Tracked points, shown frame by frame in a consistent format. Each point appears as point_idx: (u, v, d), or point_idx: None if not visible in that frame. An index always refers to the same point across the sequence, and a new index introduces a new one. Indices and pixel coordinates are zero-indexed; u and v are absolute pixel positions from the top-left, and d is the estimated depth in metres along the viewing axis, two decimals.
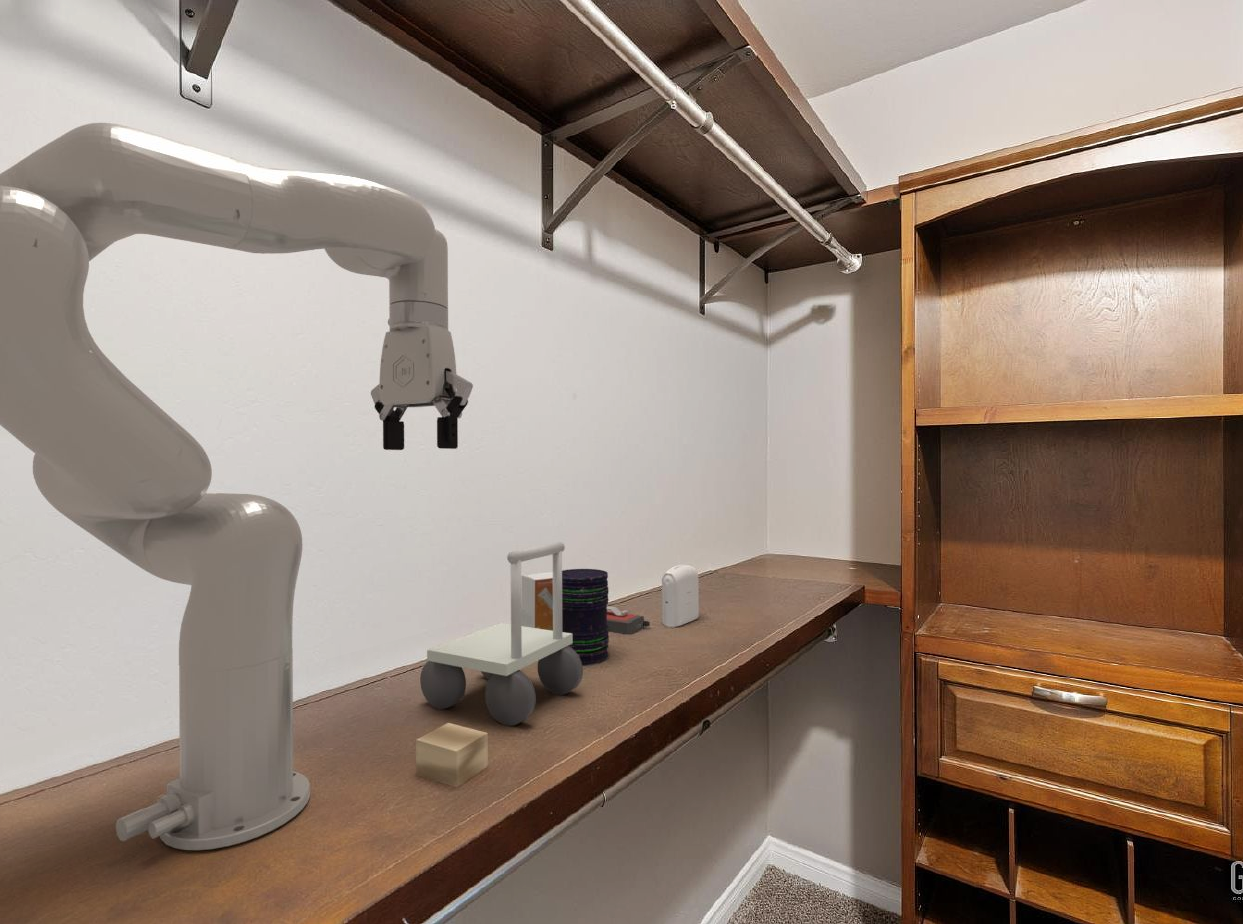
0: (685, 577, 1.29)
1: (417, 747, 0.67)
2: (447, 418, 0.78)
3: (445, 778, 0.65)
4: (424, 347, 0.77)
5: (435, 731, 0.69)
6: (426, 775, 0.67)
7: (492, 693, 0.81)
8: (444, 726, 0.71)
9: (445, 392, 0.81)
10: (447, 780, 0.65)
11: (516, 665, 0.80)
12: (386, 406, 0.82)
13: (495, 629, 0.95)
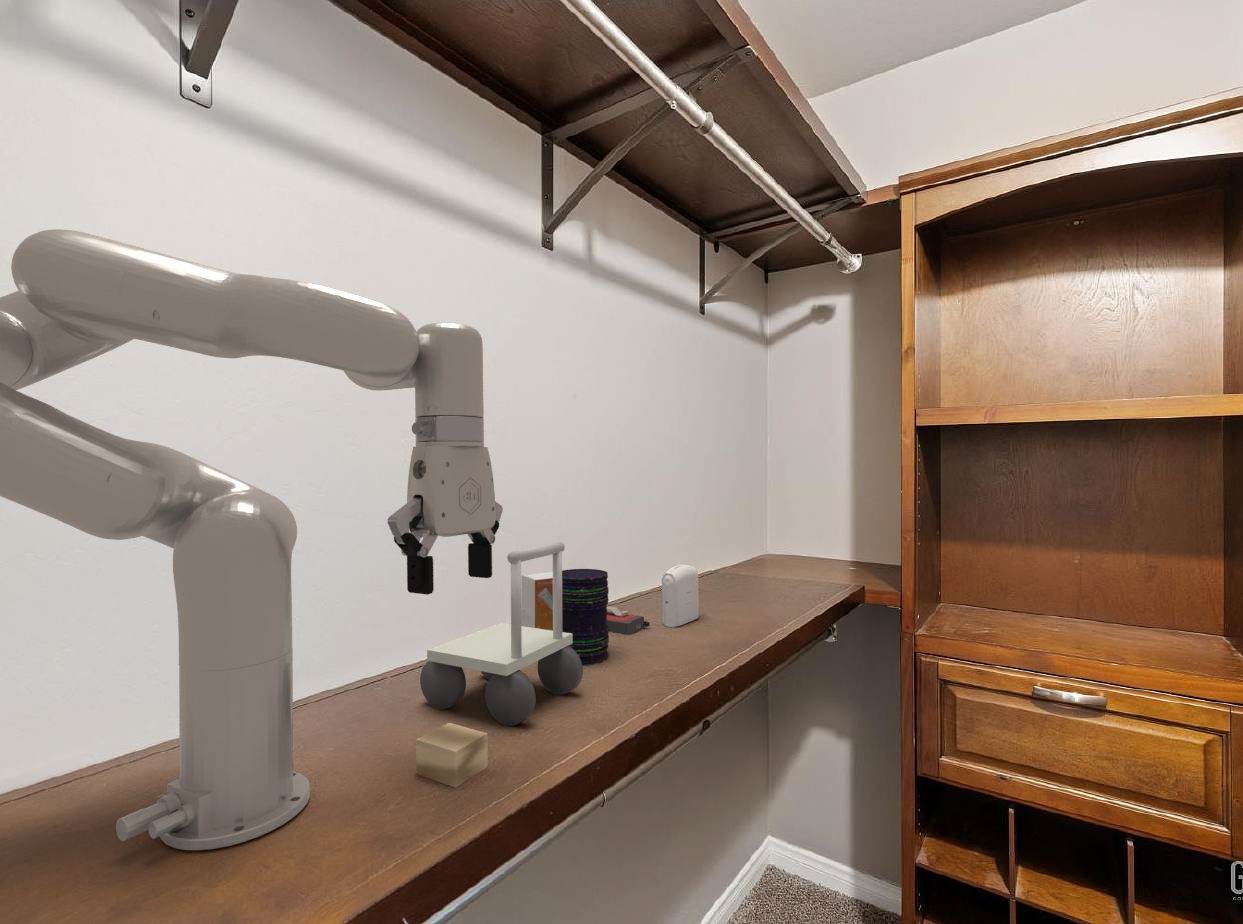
0: (685, 577, 1.29)
1: (417, 747, 0.67)
2: None
3: (444, 778, 0.65)
4: (488, 470, 0.71)
5: (435, 731, 0.70)
6: (426, 775, 0.67)
7: (492, 693, 0.81)
8: (445, 726, 0.71)
9: None
10: (447, 780, 0.65)
11: (516, 665, 0.80)
12: (429, 538, 0.64)
13: (495, 629, 0.95)
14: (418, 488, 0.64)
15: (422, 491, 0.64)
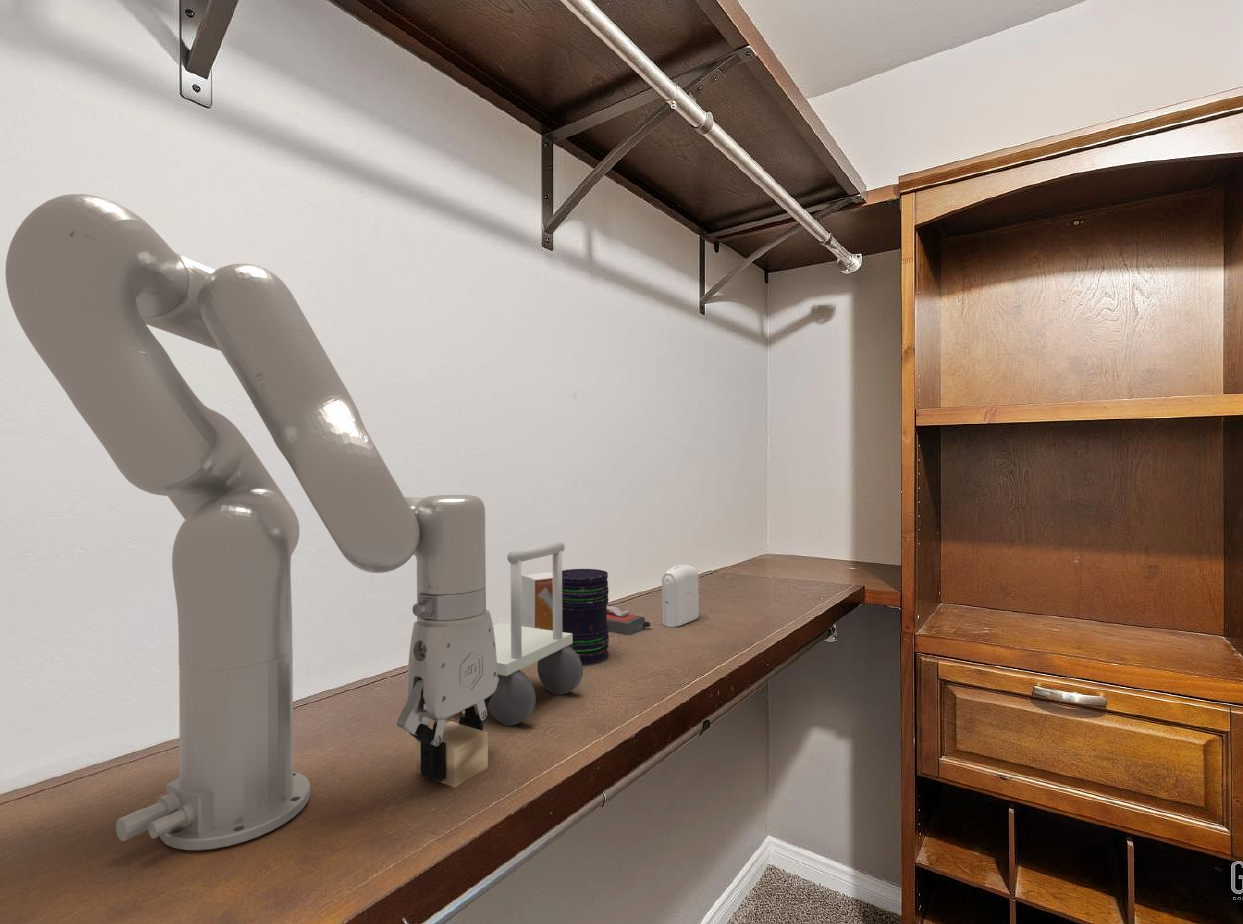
0: (685, 577, 1.29)
1: (418, 744, 0.68)
2: (480, 720, 0.71)
3: None
4: (490, 636, 0.70)
5: None
6: None
7: None
8: (446, 724, 0.71)
9: None
10: (446, 779, 0.65)
11: (516, 665, 0.80)
12: (439, 725, 0.65)
13: (495, 629, 0.95)
14: (418, 670, 0.64)
15: (422, 674, 0.64)
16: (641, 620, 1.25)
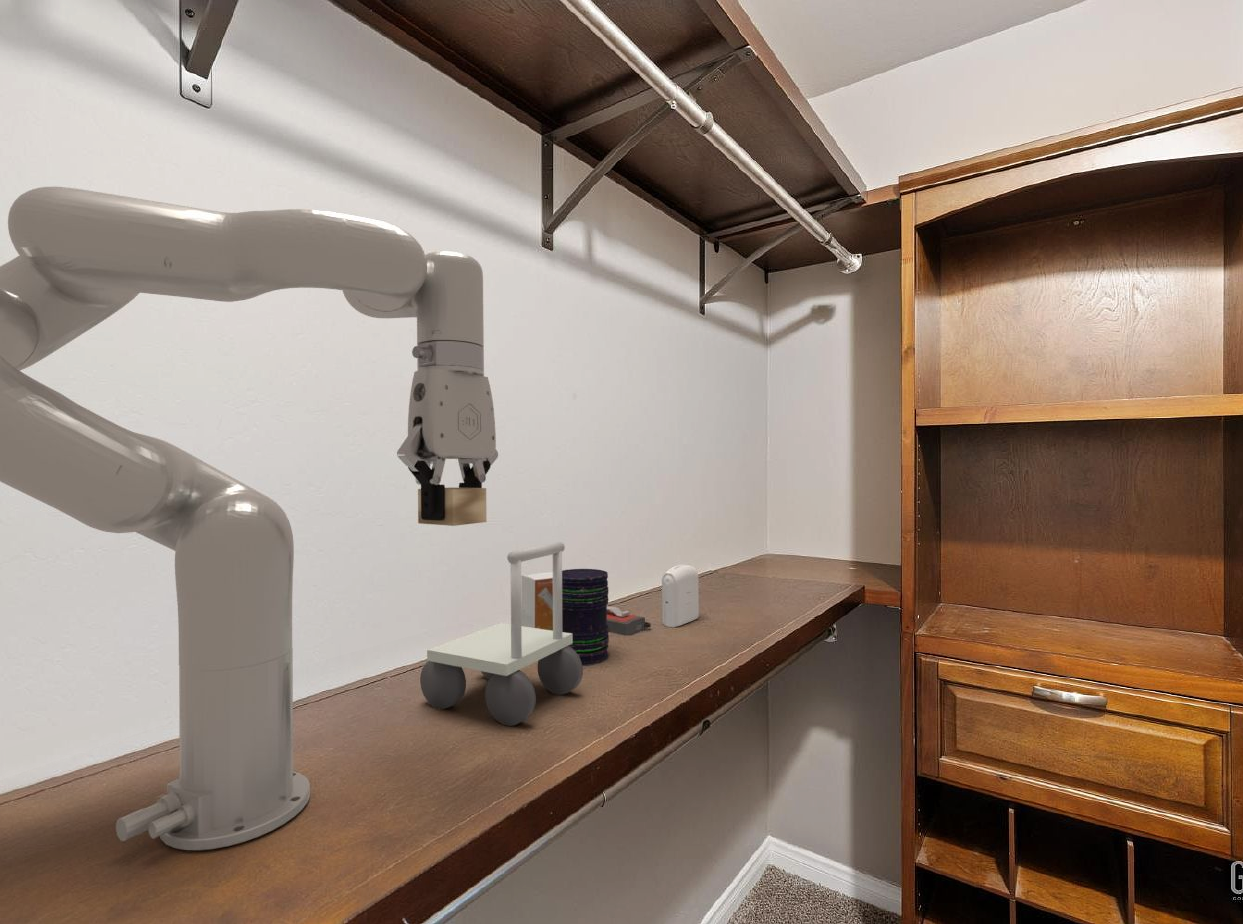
0: (685, 577, 1.29)
1: (419, 496, 0.70)
2: None
3: None
4: (488, 399, 0.73)
5: None
6: (427, 520, 0.69)
7: (492, 693, 0.81)
8: None
9: None
10: (445, 520, 0.68)
11: (516, 665, 0.80)
12: (438, 466, 0.67)
13: (495, 629, 0.95)
14: (418, 410, 0.66)
15: (422, 412, 0.66)
16: (641, 621, 1.25)
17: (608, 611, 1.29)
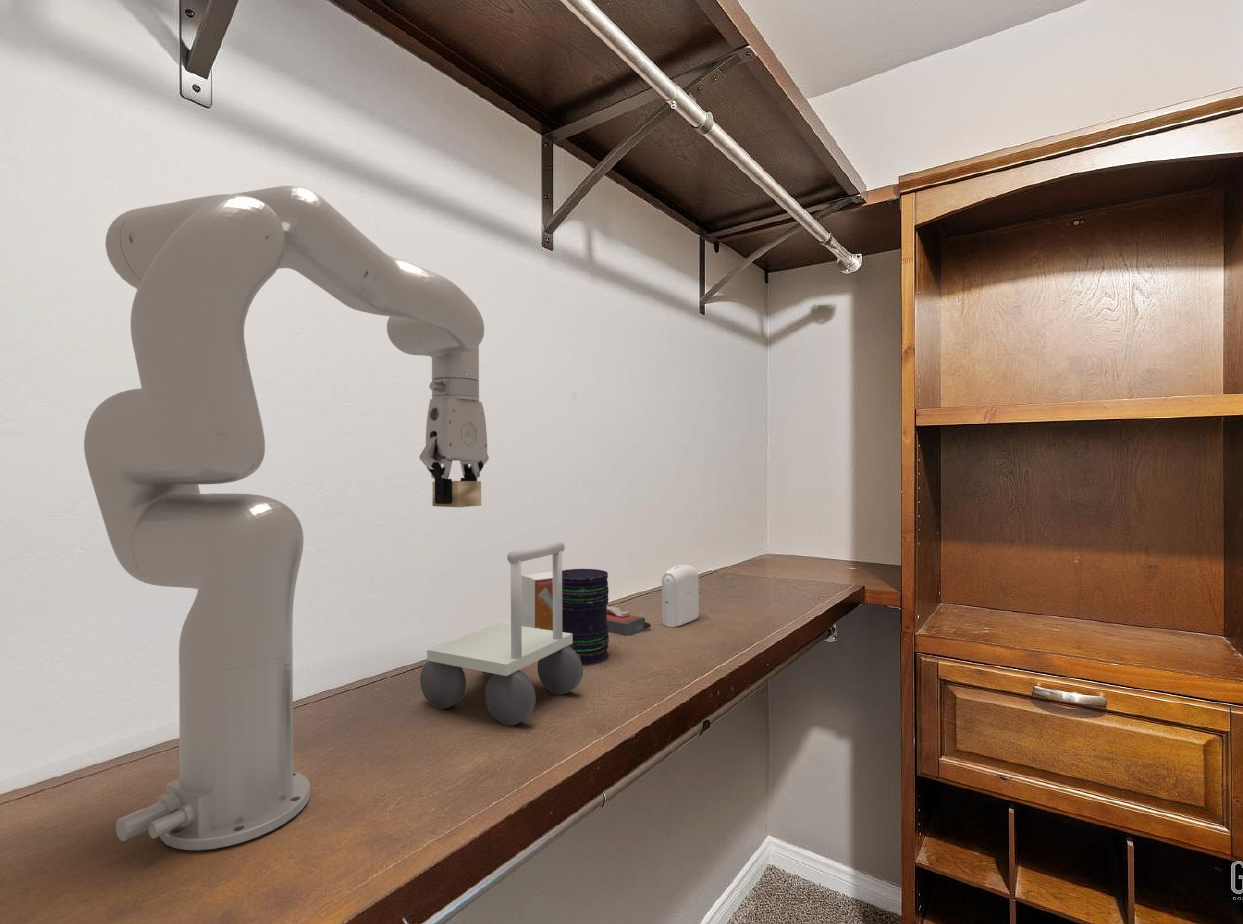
0: (685, 577, 1.29)
1: (433, 486, 0.99)
2: None
3: None
4: (482, 418, 1.01)
5: None
6: (439, 504, 0.98)
7: (492, 693, 0.81)
8: None
9: None
10: (452, 503, 0.96)
11: (516, 665, 0.80)
12: (447, 465, 0.96)
13: (495, 629, 0.95)
14: (433, 426, 0.95)
15: (436, 428, 0.95)
16: (641, 621, 1.25)
17: (608, 611, 1.29)
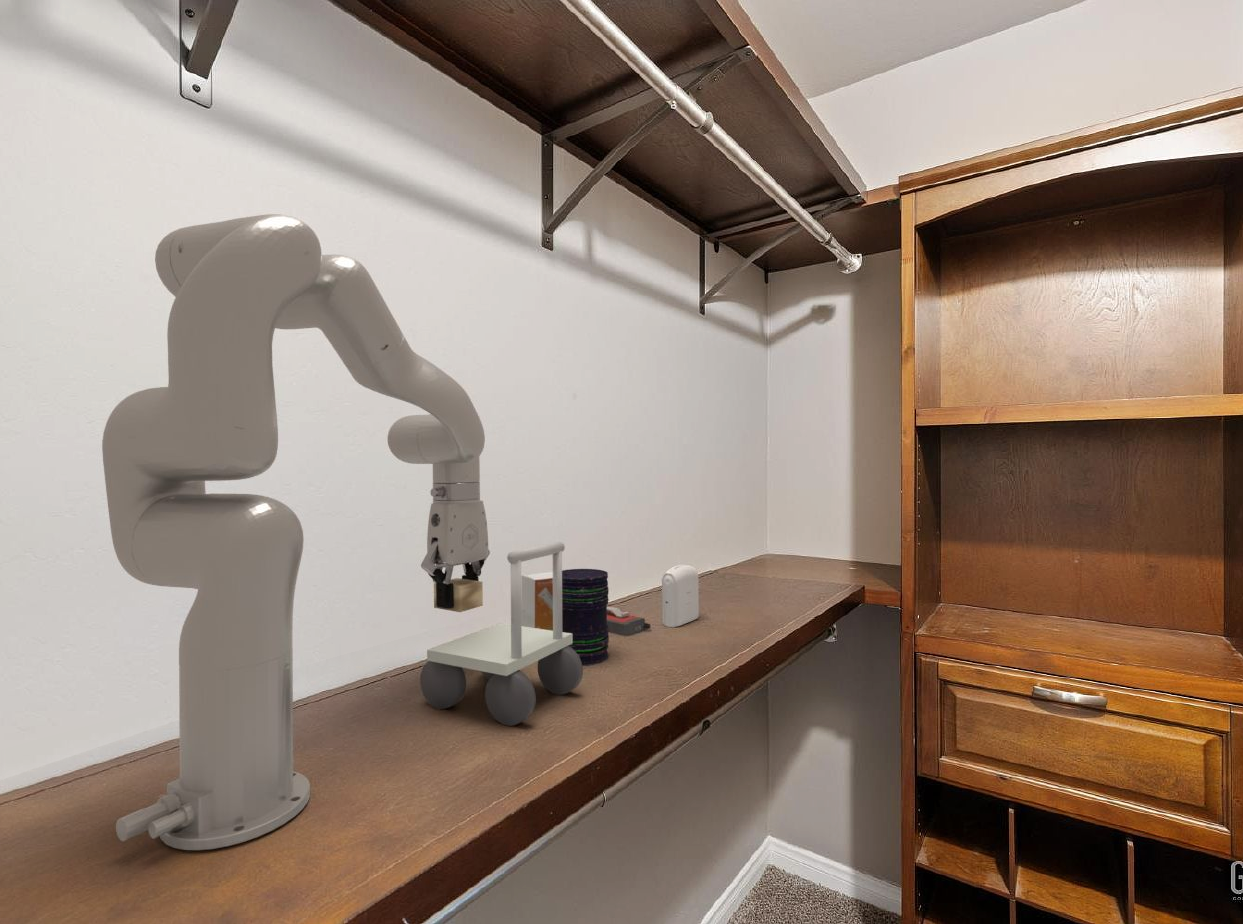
0: (685, 577, 1.29)
1: (434, 588, 0.99)
2: (476, 576, 1.03)
3: None
4: (483, 517, 1.02)
5: None
6: None
7: (492, 693, 0.81)
8: (453, 579, 1.02)
9: None
10: (454, 607, 0.97)
11: (516, 665, 0.80)
12: (448, 570, 0.96)
13: (495, 629, 0.95)
14: (435, 533, 0.95)
15: (437, 535, 0.95)
16: (641, 621, 1.24)
17: (609, 611, 1.29)
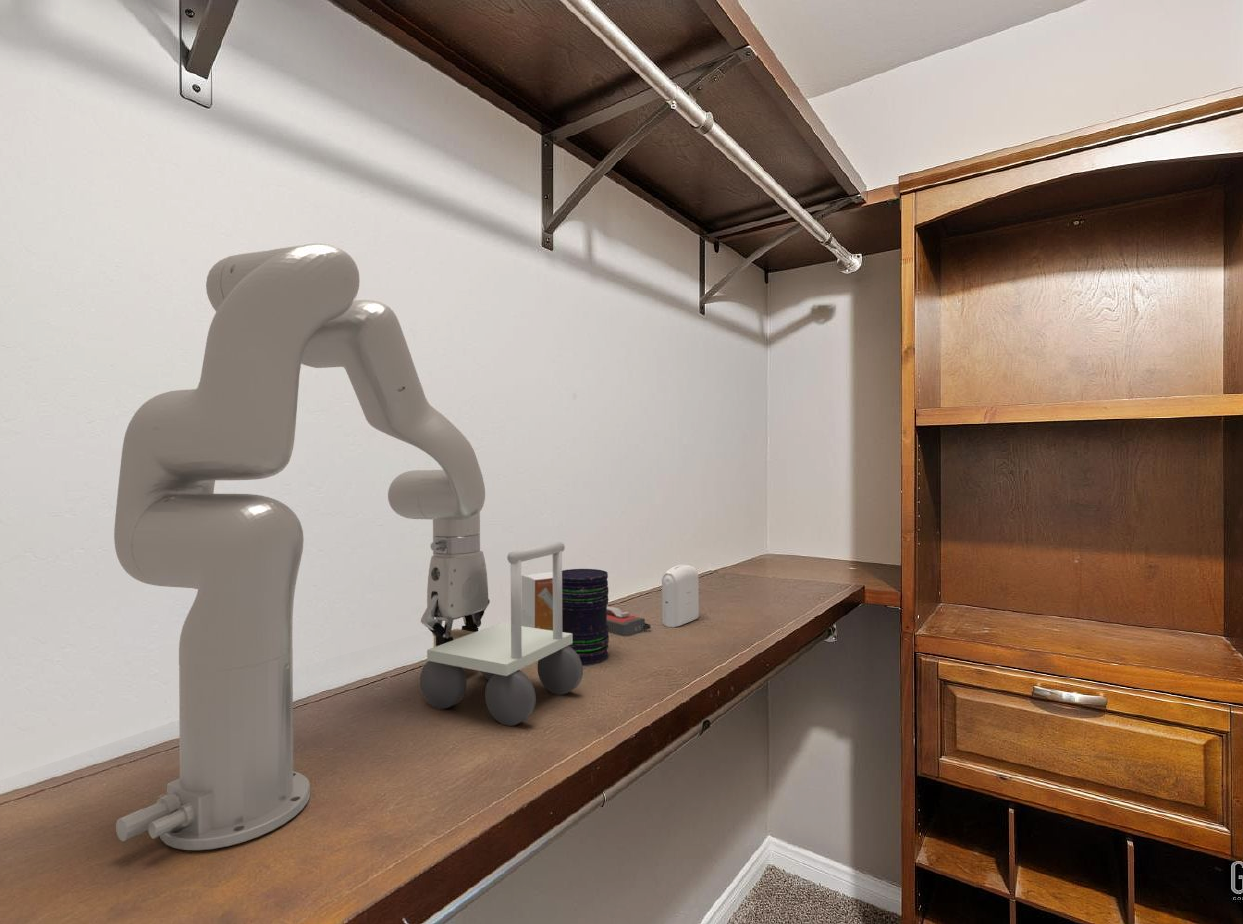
0: (685, 577, 1.29)
1: (434, 640, 0.99)
2: (476, 627, 1.02)
3: None
4: (483, 568, 1.01)
5: None
6: None
7: (492, 693, 0.81)
8: (453, 630, 1.02)
9: None
10: None
11: (516, 665, 0.80)
12: (448, 624, 0.96)
13: (495, 629, 0.95)
14: (435, 587, 0.95)
15: (437, 589, 0.95)
16: (640, 622, 1.24)
17: (609, 611, 1.29)
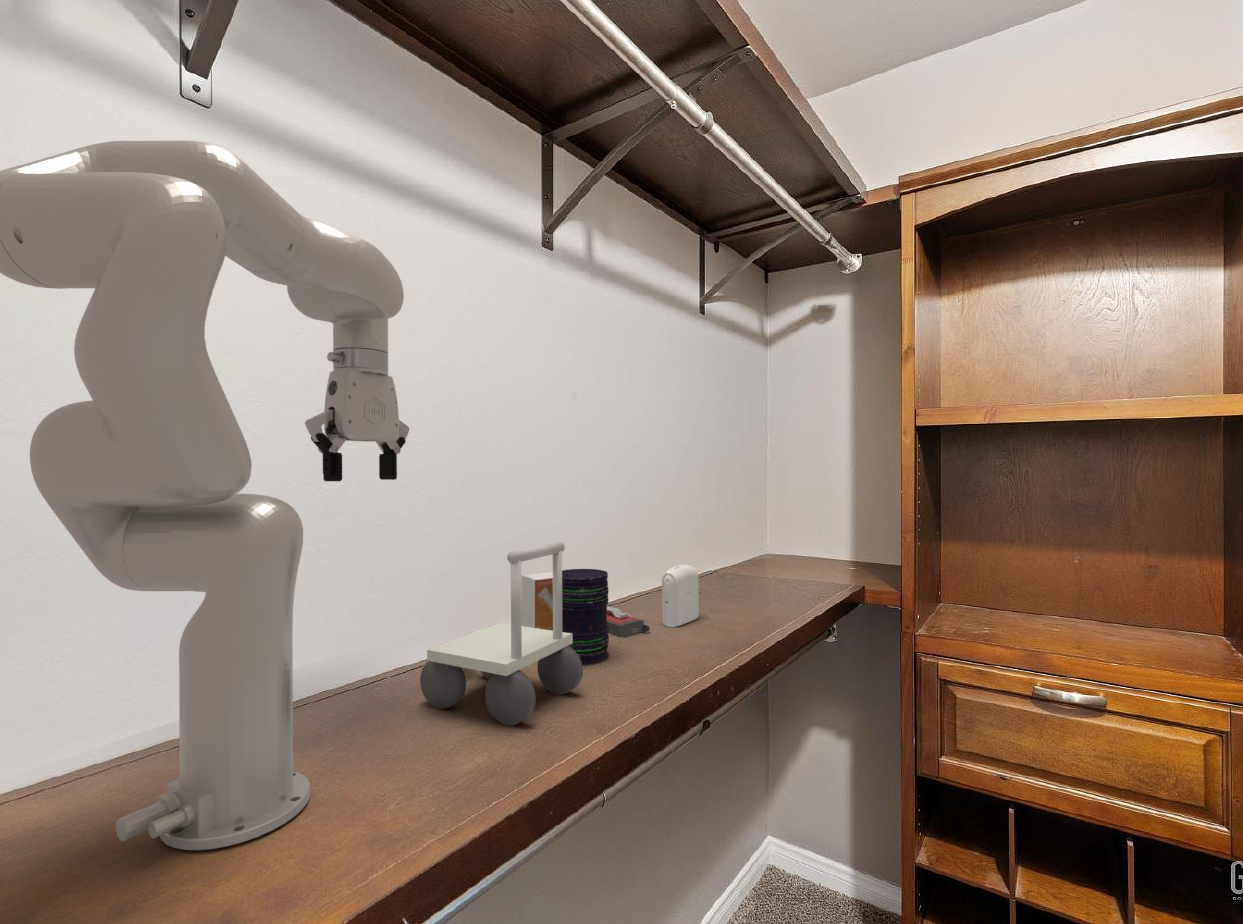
0: (685, 577, 1.29)
1: None
2: None
3: None
4: (392, 394, 0.92)
5: None
6: None
7: (492, 693, 0.81)
8: None
9: None
10: None
11: (516, 665, 0.80)
12: (339, 439, 0.85)
13: (495, 629, 0.95)
14: (331, 402, 0.85)
15: (334, 404, 0.85)
16: (639, 623, 1.23)
17: (611, 612, 1.29)
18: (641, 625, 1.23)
